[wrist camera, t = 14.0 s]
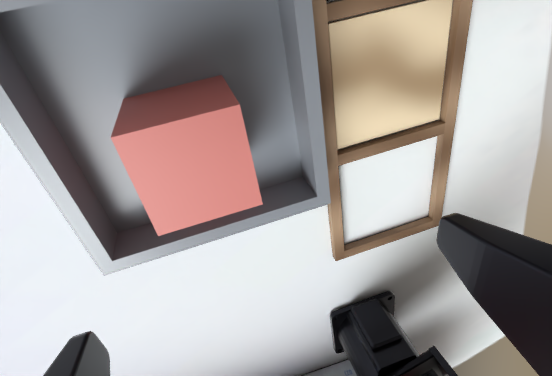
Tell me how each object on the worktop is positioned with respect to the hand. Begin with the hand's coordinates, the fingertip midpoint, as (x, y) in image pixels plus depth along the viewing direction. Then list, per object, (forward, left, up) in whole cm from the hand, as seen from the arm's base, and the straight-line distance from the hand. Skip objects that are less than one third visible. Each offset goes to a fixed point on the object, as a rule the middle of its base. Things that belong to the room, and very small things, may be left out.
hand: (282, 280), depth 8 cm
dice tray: (+1, +2, -13) cm, 13 cm away
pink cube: (0, +2, -12) cm, 12 cm away
